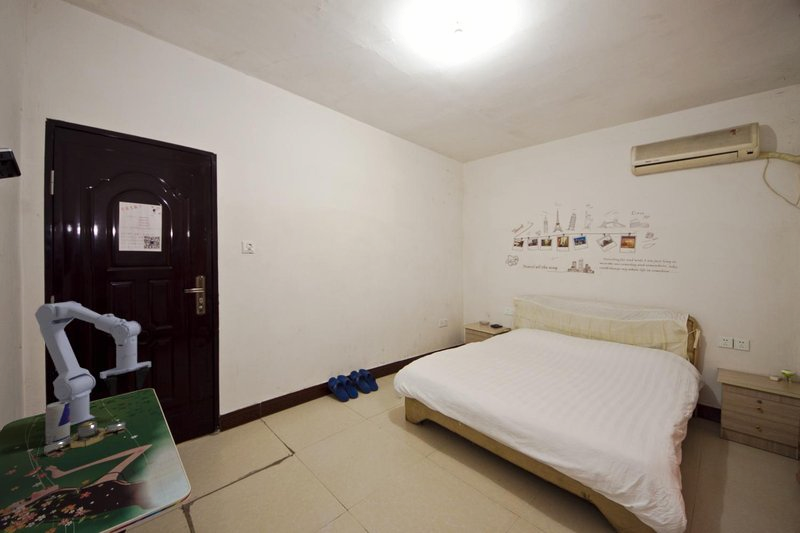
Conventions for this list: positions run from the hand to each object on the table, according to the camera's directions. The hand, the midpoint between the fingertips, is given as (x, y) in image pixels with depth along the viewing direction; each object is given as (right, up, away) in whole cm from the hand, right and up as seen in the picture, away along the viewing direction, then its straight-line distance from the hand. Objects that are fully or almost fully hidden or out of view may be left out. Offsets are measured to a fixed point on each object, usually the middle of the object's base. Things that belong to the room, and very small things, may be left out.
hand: (126, 391), depth 115 cm
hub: (-1, -10, -13) cm, 17 cm away
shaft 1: (-4, -10, -19) cm, 22 cm away
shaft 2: (+4, -10, -9) cm, 14 cm away
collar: (-1, -10, -13) cm, 17 cm away
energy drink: (-11, -11, -14) cm, 20 cm away
